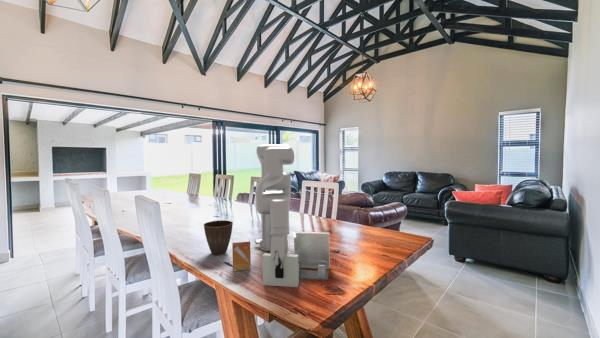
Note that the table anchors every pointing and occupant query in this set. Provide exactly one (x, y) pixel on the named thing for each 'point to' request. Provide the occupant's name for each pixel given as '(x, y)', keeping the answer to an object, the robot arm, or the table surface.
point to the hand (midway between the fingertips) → (280, 275)
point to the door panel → (288, 271)
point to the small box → (241, 254)
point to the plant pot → (218, 235)
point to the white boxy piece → (312, 254)
